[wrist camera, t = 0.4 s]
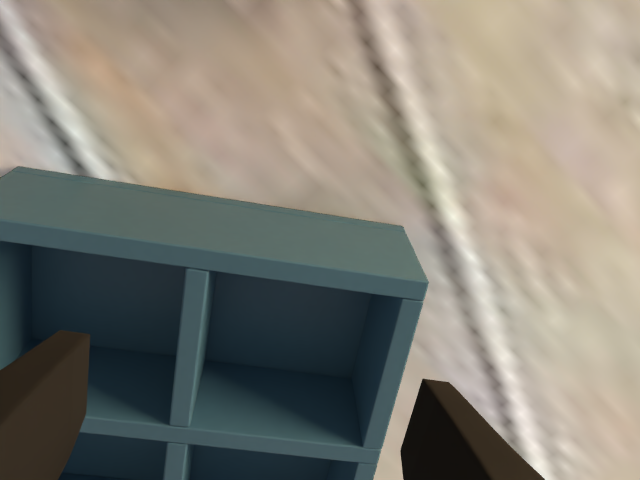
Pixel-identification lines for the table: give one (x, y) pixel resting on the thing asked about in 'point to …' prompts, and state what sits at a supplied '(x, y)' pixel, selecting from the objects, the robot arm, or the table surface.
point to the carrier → (211, 327)
